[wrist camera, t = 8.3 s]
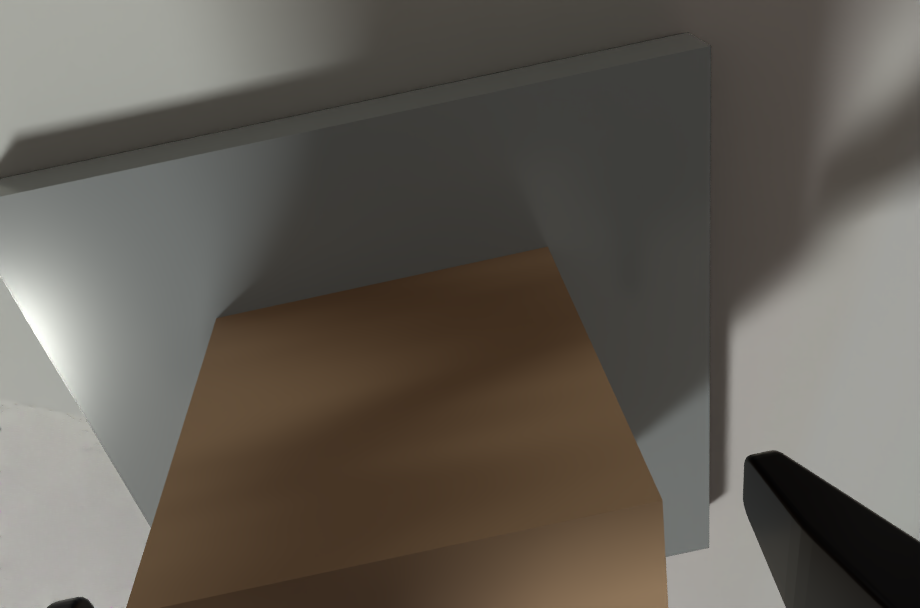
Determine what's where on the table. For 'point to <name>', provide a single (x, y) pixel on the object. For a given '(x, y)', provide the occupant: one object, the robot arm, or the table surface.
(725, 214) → the table surface
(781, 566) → the robot arm
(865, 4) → the table surface
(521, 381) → the walnut cube
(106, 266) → the slate coaster
